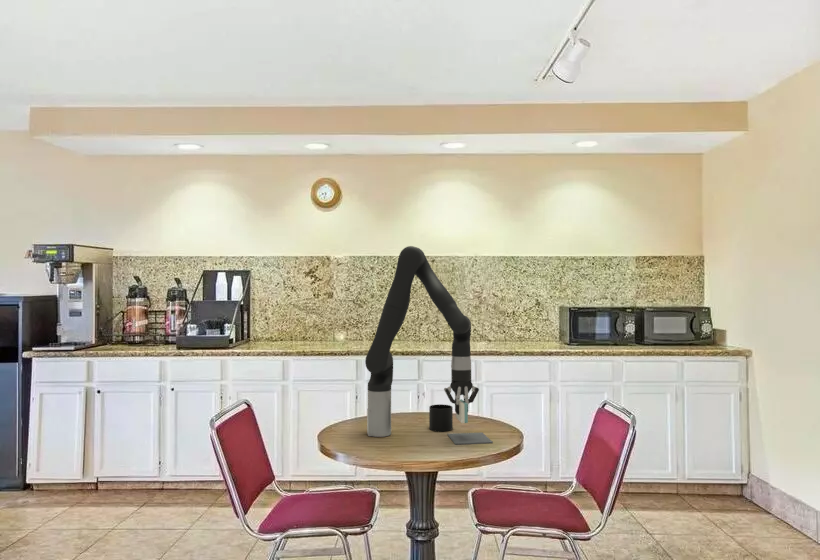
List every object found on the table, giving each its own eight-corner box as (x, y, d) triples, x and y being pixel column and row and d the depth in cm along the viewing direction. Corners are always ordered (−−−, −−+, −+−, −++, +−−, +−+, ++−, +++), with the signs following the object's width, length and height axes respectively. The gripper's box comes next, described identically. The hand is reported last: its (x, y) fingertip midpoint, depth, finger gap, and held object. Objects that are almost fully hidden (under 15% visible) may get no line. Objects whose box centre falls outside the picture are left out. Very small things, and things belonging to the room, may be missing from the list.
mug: (441, 424, 233) (441, 402, 233) (457, 430, 222) (457, 407, 222) (421, 426, 228) (421, 404, 228) (437, 433, 218) (437, 409, 218)
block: (461, 423, 204) (461, 404, 204) (455, 417, 212) (455, 399, 213) (467, 422, 204) (467, 403, 204) (462, 417, 213) (461, 399, 213)
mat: (455, 444, 201) (455, 443, 201) (447, 435, 214) (447, 433, 214) (492, 443, 203) (492, 441, 203) (482, 433, 216) (482, 432, 216)
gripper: (445, 369, 204) (445, 416, 204) (481, 368, 206) (482, 415, 206) (441, 367, 211) (441, 412, 211) (476, 366, 213) (476, 411, 213)
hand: (461, 413), depth 208 cm, fingers closed on block, 2 cm apart
